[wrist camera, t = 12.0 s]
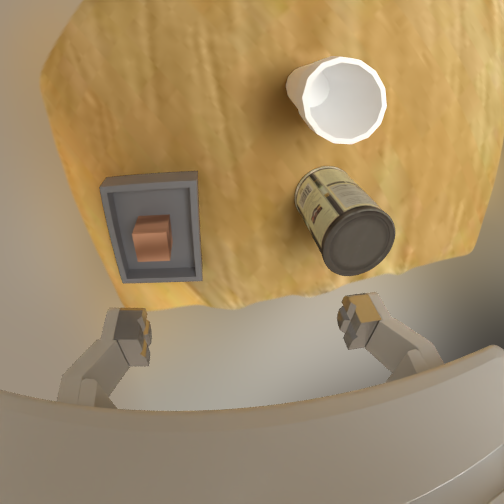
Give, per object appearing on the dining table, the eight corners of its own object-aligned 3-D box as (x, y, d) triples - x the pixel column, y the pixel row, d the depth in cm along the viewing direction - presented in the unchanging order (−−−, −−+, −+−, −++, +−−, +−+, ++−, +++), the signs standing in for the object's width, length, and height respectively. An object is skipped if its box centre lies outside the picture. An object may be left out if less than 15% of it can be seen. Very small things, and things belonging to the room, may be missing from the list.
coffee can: (351, 217, 50) (388, 269, 39) (294, 225, 50) (320, 282, 39) (355, 162, 44) (401, 205, 33) (293, 168, 43) (325, 214, 32)
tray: (106, 177, 40) (99, 187, 37) (197, 170, 42) (196, 180, 39) (126, 270, 50) (122, 283, 48) (202, 267, 52) (202, 280, 50)
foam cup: (260, 79, 35) (283, 88, 24) (314, 43, 32) (357, 41, 22) (300, 130, 40) (335, 160, 30) (350, 96, 37) (399, 115, 27)
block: (138, 216, 43) (131, 233, 39) (169, 214, 44) (166, 232, 40) (143, 242, 46) (137, 261, 42) (172, 241, 47) (170, 260, 43)
